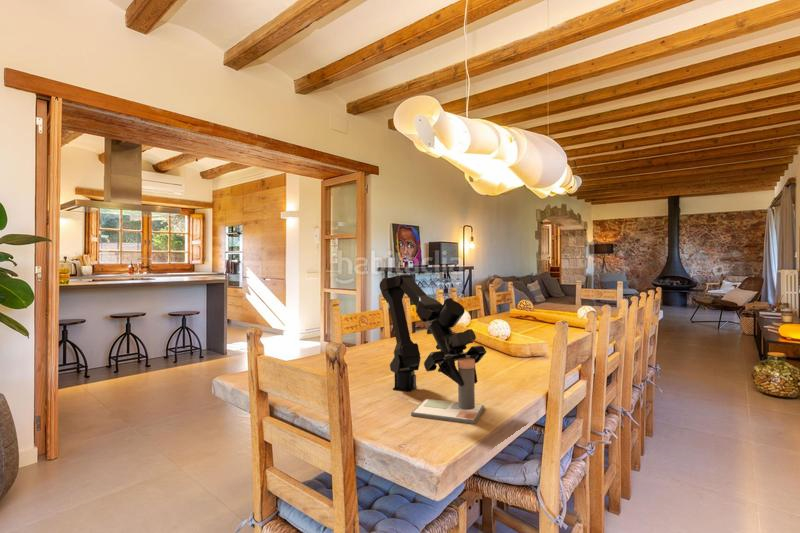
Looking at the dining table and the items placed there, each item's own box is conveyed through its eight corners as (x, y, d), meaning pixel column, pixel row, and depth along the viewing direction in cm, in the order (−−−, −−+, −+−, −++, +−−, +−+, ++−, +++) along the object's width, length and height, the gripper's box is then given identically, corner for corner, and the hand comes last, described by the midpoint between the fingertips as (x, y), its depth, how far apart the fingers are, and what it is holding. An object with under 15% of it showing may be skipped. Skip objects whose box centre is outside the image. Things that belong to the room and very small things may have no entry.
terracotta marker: (459, 409, 111) (458, 361, 111) (457, 403, 116) (456, 357, 116) (476, 409, 111) (475, 361, 111) (473, 403, 116) (473, 357, 116)
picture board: (411, 415, 116) (411, 412, 116) (425, 401, 128) (425, 397, 128) (475, 424, 109) (475, 420, 109) (484, 407, 121) (484, 404, 121)
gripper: (429, 323, 112) (454, 372, 103) (481, 317, 121) (509, 362, 112) (414, 347, 119) (436, 395, 109) (465, 340, 128) (490, 384, 119)
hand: (469, 384), depth 112 cm, fingers closed on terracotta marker, 4 cm apart
